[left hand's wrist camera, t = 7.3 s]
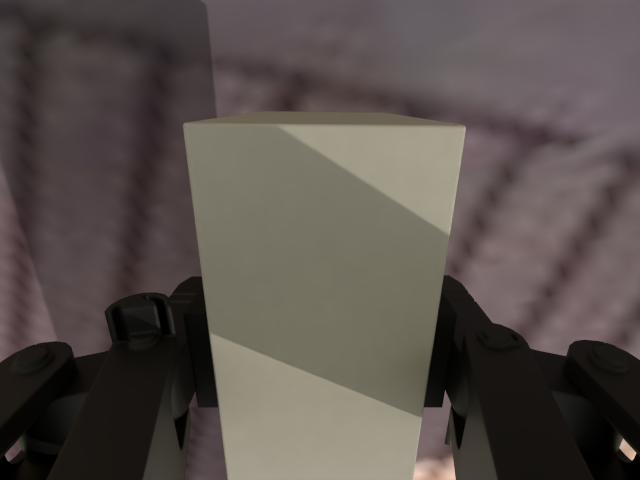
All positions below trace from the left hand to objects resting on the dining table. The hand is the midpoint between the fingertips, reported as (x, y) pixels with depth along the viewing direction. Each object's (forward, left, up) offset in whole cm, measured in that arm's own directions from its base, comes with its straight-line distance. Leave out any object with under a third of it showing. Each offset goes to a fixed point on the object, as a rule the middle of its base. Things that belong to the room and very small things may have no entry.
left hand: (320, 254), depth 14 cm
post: (+27, 0, -1) cm, 27 cm away
